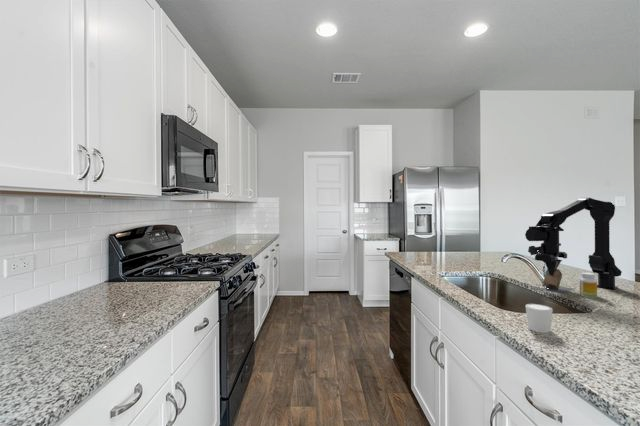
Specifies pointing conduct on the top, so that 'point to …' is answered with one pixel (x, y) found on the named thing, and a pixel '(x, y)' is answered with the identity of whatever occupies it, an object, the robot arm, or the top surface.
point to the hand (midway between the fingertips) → (551, 275)
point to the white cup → (539, 317)
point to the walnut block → (552, 279)
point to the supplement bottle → (588, 285)
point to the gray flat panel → (560, 289)
